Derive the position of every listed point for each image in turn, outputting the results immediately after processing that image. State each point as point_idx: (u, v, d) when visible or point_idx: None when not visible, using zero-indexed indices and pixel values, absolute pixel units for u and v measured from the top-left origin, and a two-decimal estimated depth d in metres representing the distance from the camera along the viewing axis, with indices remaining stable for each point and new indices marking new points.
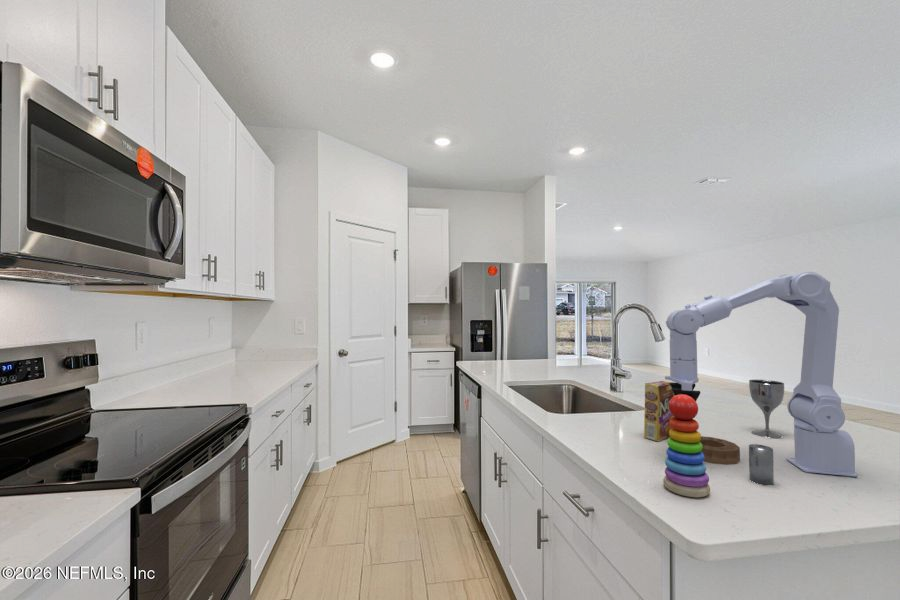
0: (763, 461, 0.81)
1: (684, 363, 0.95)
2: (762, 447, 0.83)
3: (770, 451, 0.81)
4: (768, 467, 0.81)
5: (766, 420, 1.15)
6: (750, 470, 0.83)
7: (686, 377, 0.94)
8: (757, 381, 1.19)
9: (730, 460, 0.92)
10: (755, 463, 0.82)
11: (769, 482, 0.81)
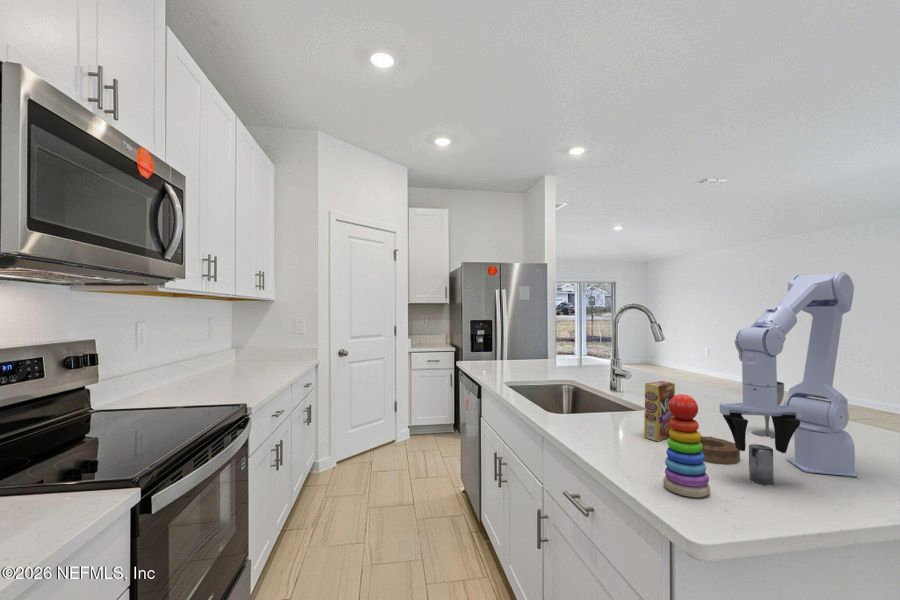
0: (763, 461, 0.81)
1: (744, 387, 0.84)
2: (762, 447, 0.83)
3: (770, 451, 0.81)
4: (768, 467, 0.81)
5: (766, 420, 1.15)
6: (750, 470, 0.83)
7: (745, 403, 0.84)
8: None
9: (730, 460, 0.92)
10: (755, 463, 0.82)
11: (769, 482, 0.81)
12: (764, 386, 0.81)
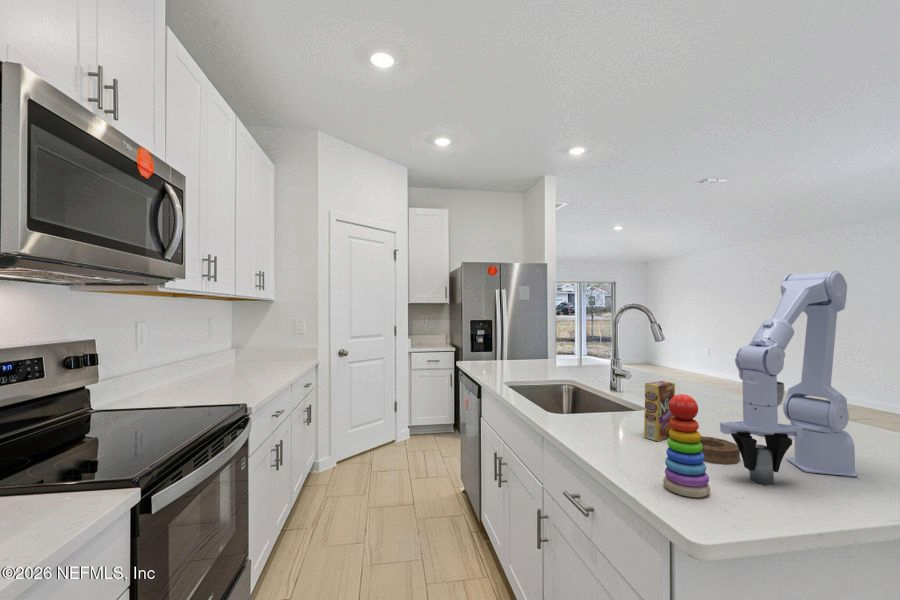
0: (763, 461, 0.81)
1: (745, 406, 0.84)
2: (762, 447, 0.83)
3: (770, 451, 0.81)
4: (768, 466, 0.81)
5: None
6: None
7: (746, 422, 0.83)
8: None
9: (730, 460, 0.92)
10: (755, 463, 0.82)
11: (769, 482, 0.81)
12: (764, 406, 0.81)
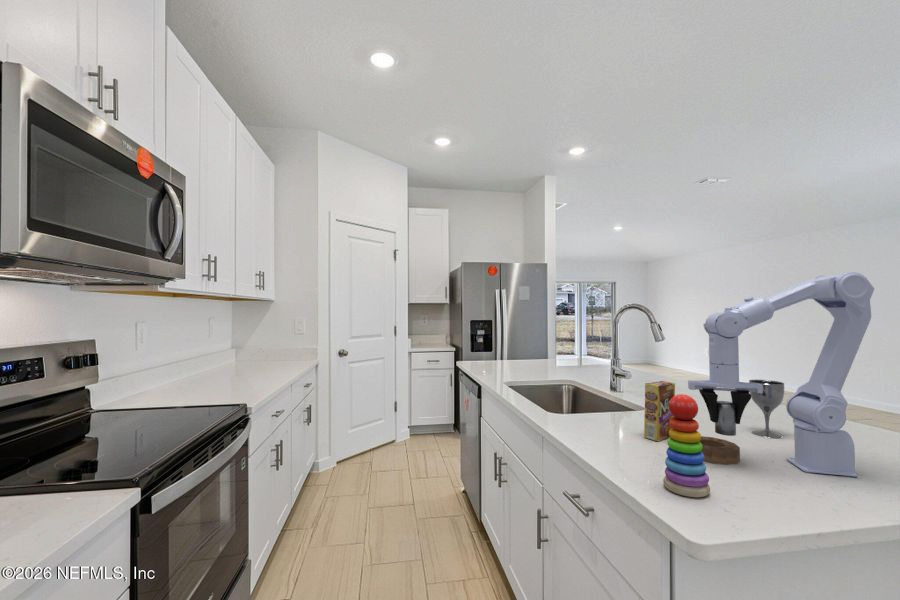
0: (726, 414, 0.91)
1: (710, 365, 0.94)
2: (726, 402, 0.93)
3: (732, 405, 0.91)
4: (730, 419, 0.91)
5: (766, 420, 1.15)
6: (715, 423, 0.94)
7: (710, 380, 0.94)
8: (757, 381, 1.19)
9: (730, 460, 0.92)
10: (718, 416, 0.92)
11: (731, 432, 0.91)
12: (725, 364, 0.91)
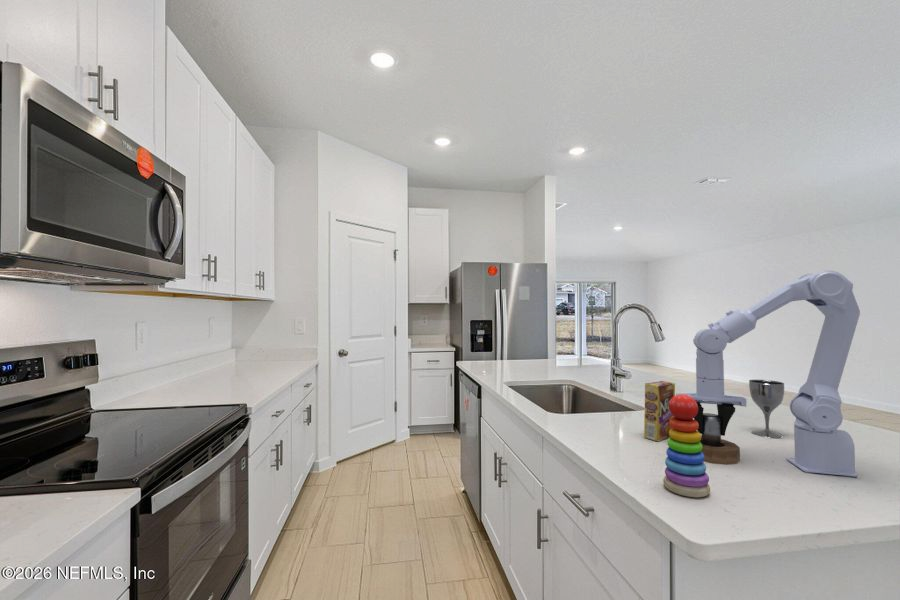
0: (711, 426, 0.96)
1: (696, 379, 0.99)
2: (712, 415, 0.98)
3: (717, 418, 0.96)
4: (715, 431, 0.96)
5: (766, 420, 1.15)
6: (701, 434, 0.98)
7: (697, 393, 0.99)
8: (757, 381, 1.19)
9: (730, 460, 0.92)
10: (705, 428, 0.97)
11: (716, 443, 0.96)
12: (710, 379, 0.96)
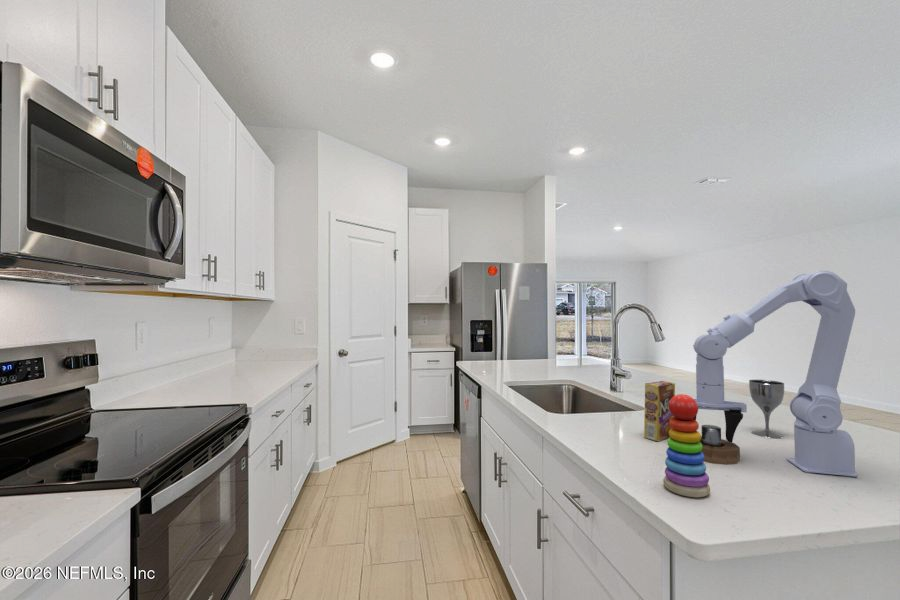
0: (711, 438, 0.96)
1: (697, 385, 0.99)
2: (713, 427, 0.98)
3: (717, 430, 0.96)
4: (715, 443, 0.96)
5: (766, 420, 1.15)
6: None
7: (697, 399, 0.99)
8: (757, 381, 1.19)
9: (730, 460, 0.92)
10: (705, 440, 0.97)
11: None
12: (710, 384, 0.96)
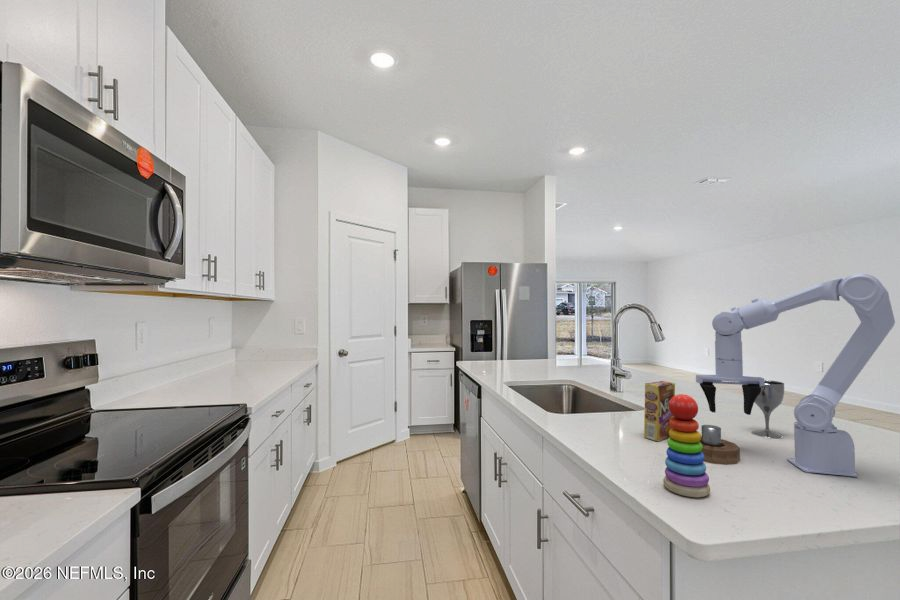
0: (711, 438, 0.96)
1: (716, 361, 1.03)
2: (713, 427, 0.98)
3: (717, 430, 0.96)
4: (715, 443, 0.96)
5: (766, 420, 1.15)
6: None
7: (716, 374, 1.03)
8: None
9: (730, 460, 0.92)
10: (705, 440, 0.97)
11: None
12: (729, 359, 1.00)
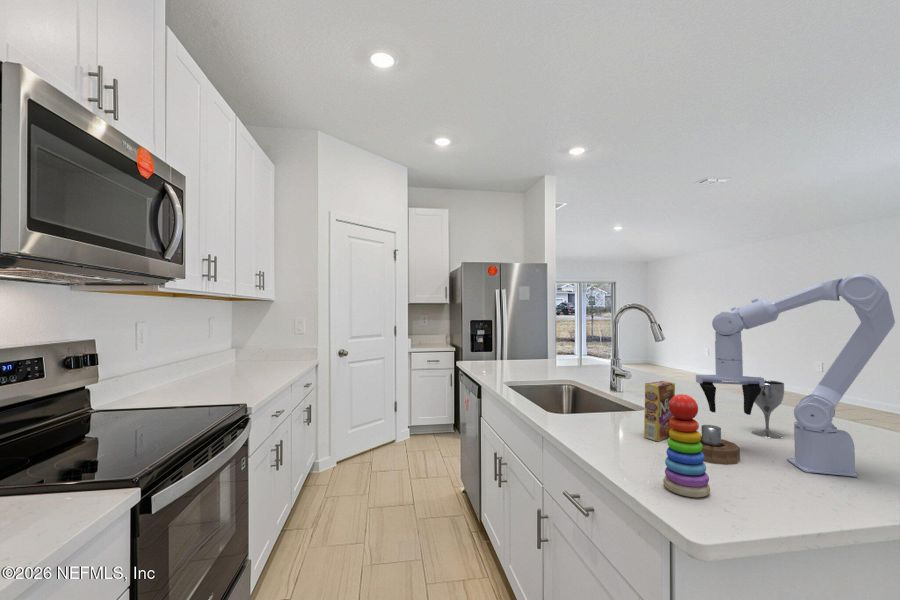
0: (711, 438, 0.96)
1: (716, 361, 1.03)
2: (713, 427, 0.98)
3: (717, 430, 0.96)
4: (715, 443, 0.96)
5: (766, 420, 1.15)
6: None
7: (716, 374, 1.03)
8: None
9: (730, 460, 0.92)
10: (705, 440, 0.97)
11: None
12: (730, 359, 1.00)
